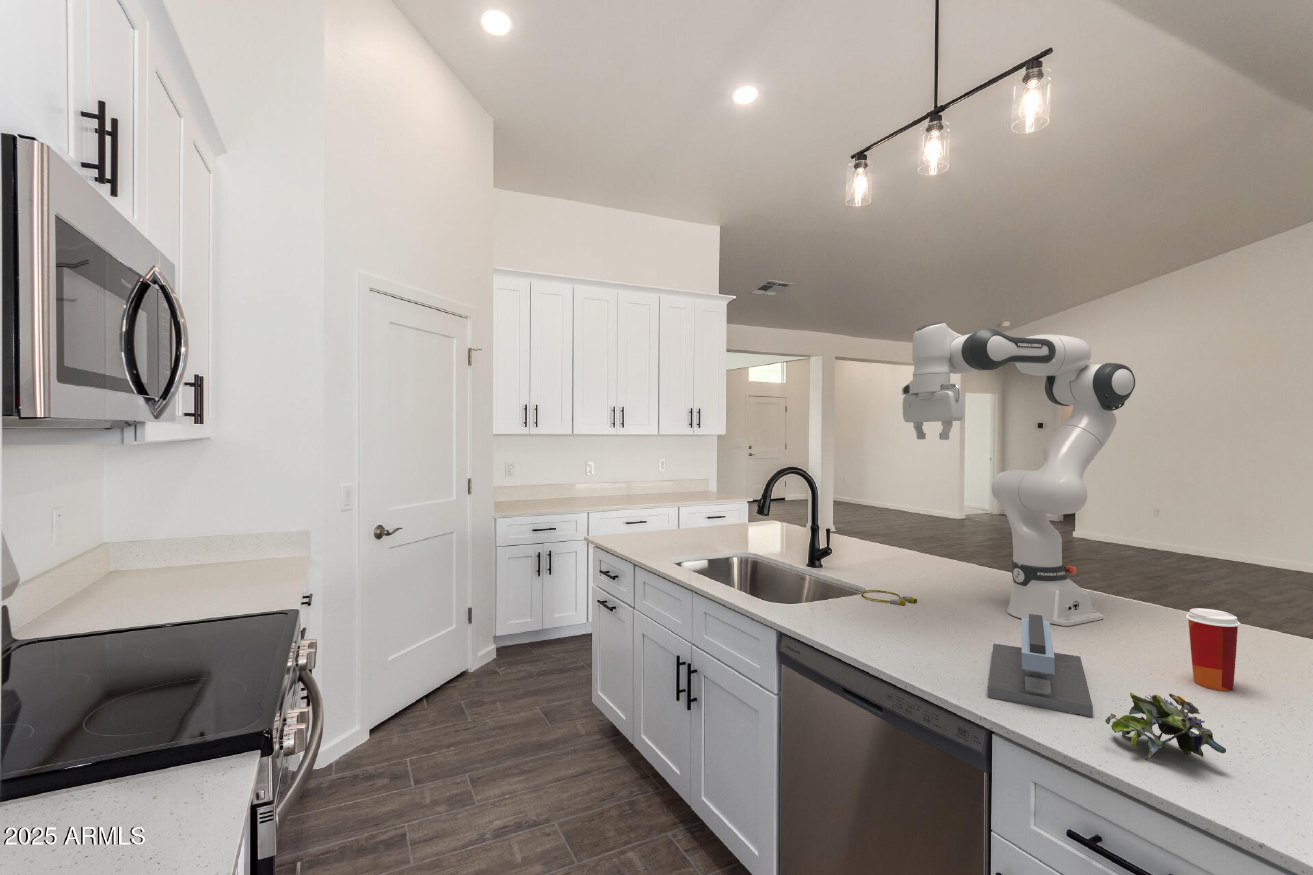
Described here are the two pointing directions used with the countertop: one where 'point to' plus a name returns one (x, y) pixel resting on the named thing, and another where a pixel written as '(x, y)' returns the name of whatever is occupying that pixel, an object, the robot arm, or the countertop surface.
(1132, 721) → the passion flower
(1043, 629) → the bar
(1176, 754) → the countertop surface
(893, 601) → the extension cord
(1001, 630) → the countertop surface
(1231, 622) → the paper cup
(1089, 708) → the dark grey base plate
